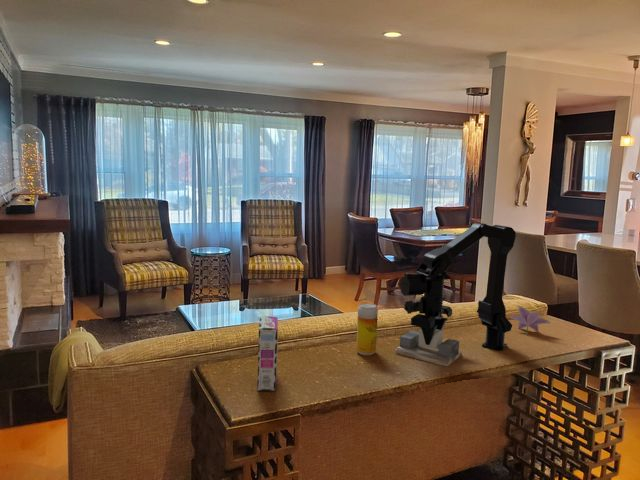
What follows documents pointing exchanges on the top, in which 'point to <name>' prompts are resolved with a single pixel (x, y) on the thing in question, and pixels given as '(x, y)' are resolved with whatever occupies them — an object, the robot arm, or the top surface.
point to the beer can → (367, 329)
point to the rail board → (428, 350)
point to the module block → (435, 340)
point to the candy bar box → (267, 353)
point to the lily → (529, 319)
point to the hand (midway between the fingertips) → (430, 342)
